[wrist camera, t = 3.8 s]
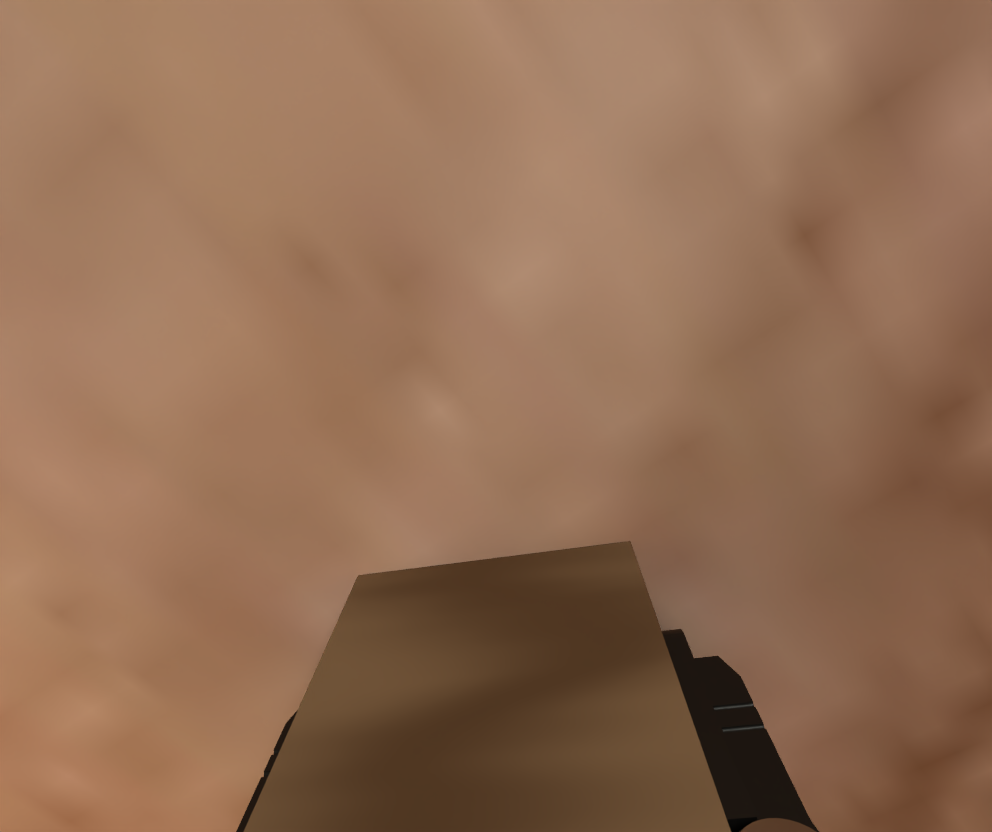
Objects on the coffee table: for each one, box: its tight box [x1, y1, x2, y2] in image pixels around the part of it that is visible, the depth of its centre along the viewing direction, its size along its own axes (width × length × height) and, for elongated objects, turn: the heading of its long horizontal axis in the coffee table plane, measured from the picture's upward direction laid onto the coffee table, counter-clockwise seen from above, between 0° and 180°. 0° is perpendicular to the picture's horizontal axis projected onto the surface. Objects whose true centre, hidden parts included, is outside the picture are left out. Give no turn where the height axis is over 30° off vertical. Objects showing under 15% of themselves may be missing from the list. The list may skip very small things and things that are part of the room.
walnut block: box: [244, 541, 731, 832], centre depth 9 cm, size 5×5×6 cm
